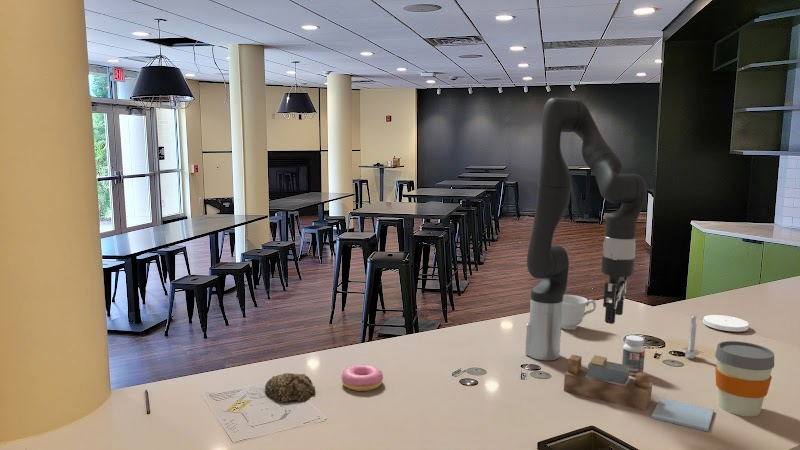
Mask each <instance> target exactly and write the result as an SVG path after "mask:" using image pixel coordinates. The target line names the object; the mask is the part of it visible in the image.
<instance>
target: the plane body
mask: <svg viewBox="0 0 800 450" xmlns="http://www.w3.org/2000/svg"><path fill="white" fill-rule="evenodd" d="M587 375H588V367H587V368H585V367H582V356H580V355H576V354H571V356H570V357H569V358H568V359H567V371H566V372H565V373H564V380H563V381H564V382H563V391H565V392H568V393H572V394H578V395H581V396H586V397H589V398H594V399H598V400H600V401H601V400H602V401H606V402H609V403H613V404H619V405H623V406H627V407H631V408H635V409H638V410H642V411H646V409H648V406H649V404H650V403H651V400H652V391H653V390H652V389H653V382H650V381H651V375H650V374H649V373H646V372H643V373H637V374H636V375H635V378H633V377H629V378H628V380H627V381H626V383H625V384H619V383H615V382H610V381H606V380H601V379H597V378H592V377H588V376H587Z"/></svg>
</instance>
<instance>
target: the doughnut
mask: <svg viewBox="0 0 800 450" xmlns="http://www.w3.org/2000/svg"><path fill="white" fill-rule="evenodd" d="M340 378H341V382H342V384H343V385H344V387H346V388H347V389H349V390H352V391H357V392H368V391H373V390H375V389H377V388H378V387H380V386H381V385H382V383H383V379H384V375H383V372H382V370H380V369H379V368H378V367H376V366H373V365H369V364H364V363H363V364H355V365H351V366H349V367H346V368H345V369H344V370H343V371H342V374H341V377H340Z"/></svg>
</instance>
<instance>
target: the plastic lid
mask: <svg viewBox="0 0 800 450" xmlns="http://www.w3.org/2000/svg"><path fill="white" fill-rule="evenodd" d="M703 324H704V325H705V326H708V327H710V328H713V329H715V330H720V331H727V332H736V333H737V332H746V331H748V330H749V329H750V328H749V327H750V323H749V322H748V321H746V320H744V319H742V318H739V317H736V316H735V317H733V316H730V315H723V314H722V315H721V314H709V315H705V316H704V317H703Z"/></svg>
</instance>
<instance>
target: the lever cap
mask: <svg viewBox="0 0 800 450" xmlns="http://www.w3.org/2000/svg"><path fill="white" fill-rule="evenodd" d="M629 368H630V366H627V365H623V364H622V363H617V362H614V361H613V362H612V361H608V357H606V356H601V355H596V354H595V355H594V356H593V357H592V358H591V359H590V362H588V365H587V369H588V375H587V376H588V377H592V378H597V379H601V380H606V381H610V382H615V383H619V384H625V383H626V381H627V380H628V378H630V375H629Z"/></svg>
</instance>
